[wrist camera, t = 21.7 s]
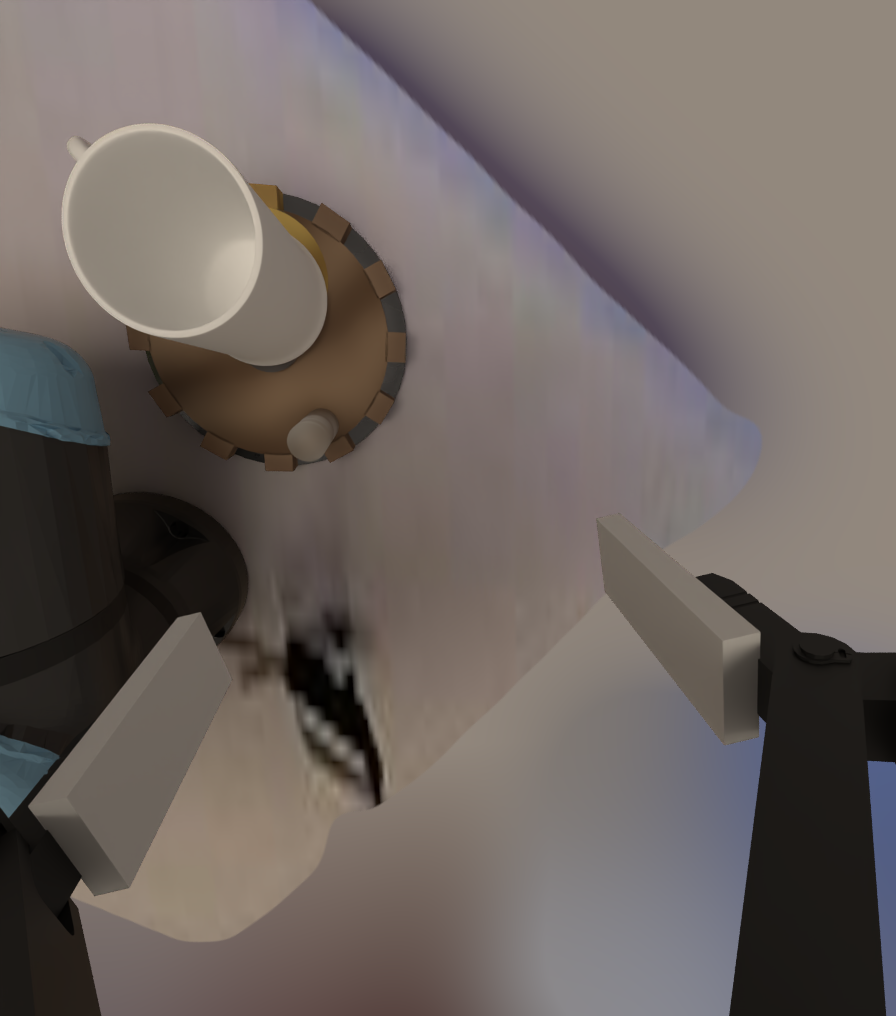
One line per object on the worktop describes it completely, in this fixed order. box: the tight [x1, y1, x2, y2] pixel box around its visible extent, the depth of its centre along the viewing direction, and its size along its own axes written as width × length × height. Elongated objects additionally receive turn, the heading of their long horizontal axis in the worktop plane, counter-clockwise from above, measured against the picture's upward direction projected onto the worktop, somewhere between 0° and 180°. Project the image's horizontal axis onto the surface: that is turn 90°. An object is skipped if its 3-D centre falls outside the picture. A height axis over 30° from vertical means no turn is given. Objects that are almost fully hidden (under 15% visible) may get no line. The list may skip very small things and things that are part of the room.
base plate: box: [146, 194, 407, 465], centre depth 35 cm, size 19×19×1 cm
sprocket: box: [126, 183, 406, 471], centre depth 31 cm, size 18×18×8 cm
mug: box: [62, 124, 327, 366], centre depth 25 cm, size 12×8×12 cm
